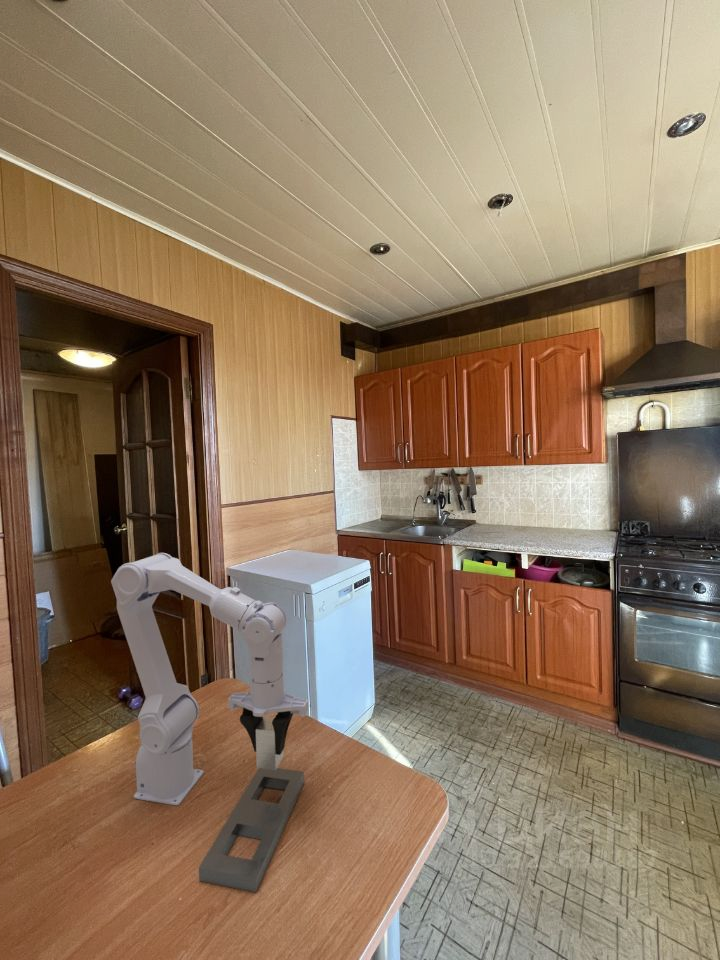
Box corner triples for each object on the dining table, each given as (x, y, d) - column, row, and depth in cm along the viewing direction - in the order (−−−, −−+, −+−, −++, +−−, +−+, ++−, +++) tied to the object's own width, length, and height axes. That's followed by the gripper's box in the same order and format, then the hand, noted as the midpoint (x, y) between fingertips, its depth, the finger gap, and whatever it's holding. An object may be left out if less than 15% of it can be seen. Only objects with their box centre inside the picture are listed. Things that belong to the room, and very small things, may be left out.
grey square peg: (256, 768, 70) (255, 729, 70) (265, 753, 74) (264, 716, 73) (275, 770, 69) (274, 731, 69) (283, 756, 73) (282, 718, 73)
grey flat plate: (199, 880, 58) (198, 867, 58) (260, 775, 77) (260, 765, 77) (256, 892, 56) (255, 878, 56) (304, 781, 75) (303, 771, 75)
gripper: (217, 683, 68) (220, 760, 69) (297, 691, 65) (299, 771, 66) (238, 663, 75) (240, 733, 76) (311, 669, 72) (313, 742, 73)
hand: (269, 749), depth 71 cm, fingers closed on grey square peg, 4 cm apart
